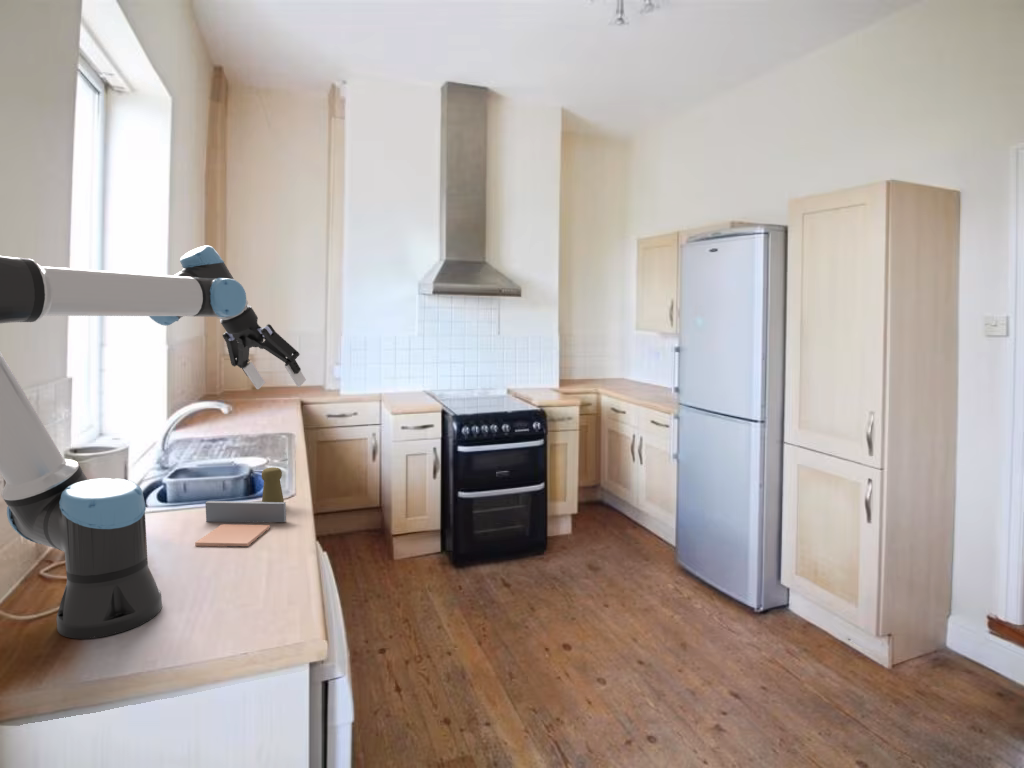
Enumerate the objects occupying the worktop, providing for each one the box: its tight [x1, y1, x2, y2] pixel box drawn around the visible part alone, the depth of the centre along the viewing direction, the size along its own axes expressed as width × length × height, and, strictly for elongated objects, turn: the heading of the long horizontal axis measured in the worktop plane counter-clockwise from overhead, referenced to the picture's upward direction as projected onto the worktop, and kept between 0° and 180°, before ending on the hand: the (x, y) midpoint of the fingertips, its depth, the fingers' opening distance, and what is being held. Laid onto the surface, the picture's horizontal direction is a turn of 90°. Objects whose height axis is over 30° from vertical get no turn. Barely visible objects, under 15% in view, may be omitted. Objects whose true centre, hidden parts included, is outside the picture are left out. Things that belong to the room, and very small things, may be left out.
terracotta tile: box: [194, 523, 271, 547], centre depth 141 cm, size 12×12×1 cm
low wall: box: [204, 500, 287, 523], centre depth 152 cm, size 1×20×5 cm, turn 89°
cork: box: [261, 466, 285, 502], centre depth 163 cm, size 6×6×11 cm
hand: (281, 384), depth 148 cm, fingers open, 13 cm apart
